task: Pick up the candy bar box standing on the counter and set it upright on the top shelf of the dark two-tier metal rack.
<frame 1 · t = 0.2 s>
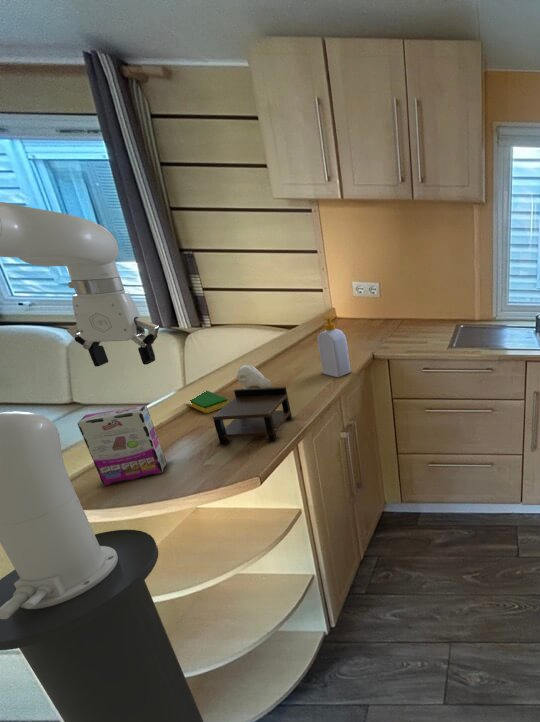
hand: (125, 363, 91), 27 cm above the table, tool pointing down, fingers open, 9 cm apart
soap bottle: (337, 373, 161), on the table
dish sponge: (207, 405, 133), on the table
candy bar box: (136, 475, 97), on the table
rack: (258, 430, 117), on the table
white rounded lump: (258, 389, 146), on the table
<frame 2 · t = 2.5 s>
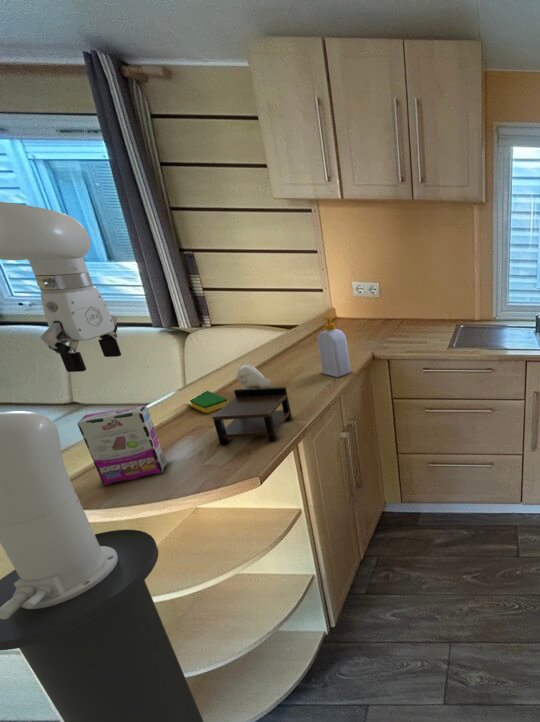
hand: (96, 363, 87), 28 cm above the table, tool pointing down, fingers open, 9 cm apart
nothing on the table moved.
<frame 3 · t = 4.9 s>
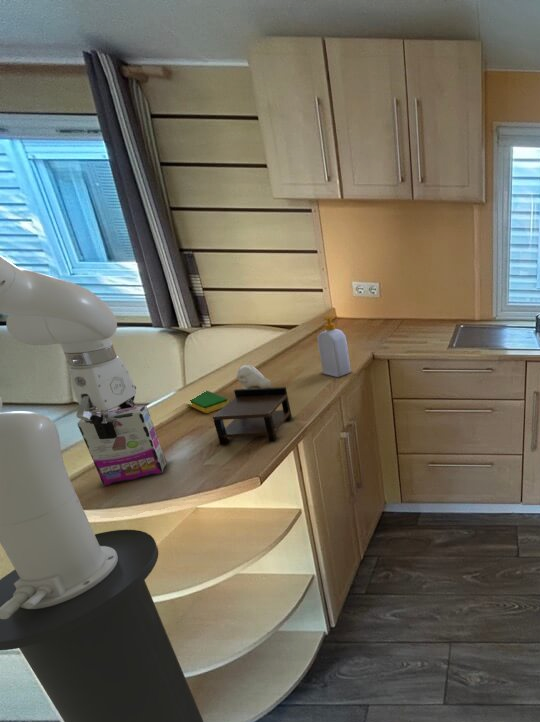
hand: (119, 430, 93), 12 cm above the table, tool pointing down, fingers closed on candy bar box, 6 cm apart
candy bar box: (136, 475, 97), on the table, touching gripper
everything else where it was.
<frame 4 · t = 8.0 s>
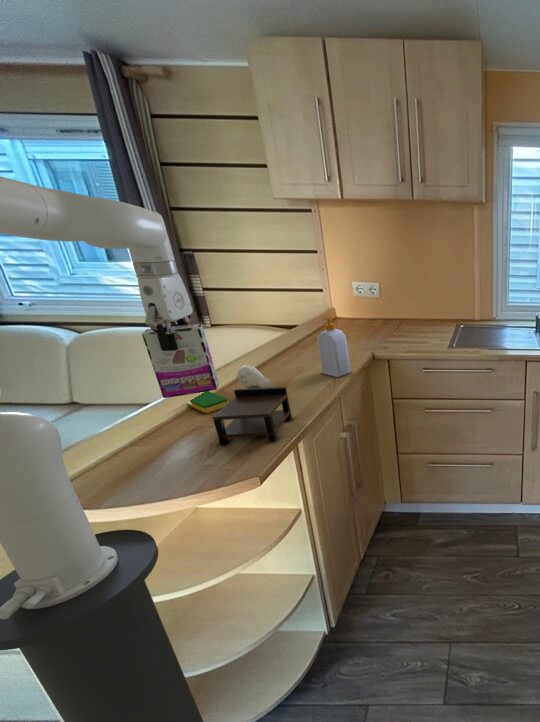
hand: (178, 345, 97), 29 cm above the table, tool pointing down, fingers closed on candy bar box, 6 cm apart
candy bar box: (192, 391, 102), point 17 cm above the table, touching gripper
everything else where it was.
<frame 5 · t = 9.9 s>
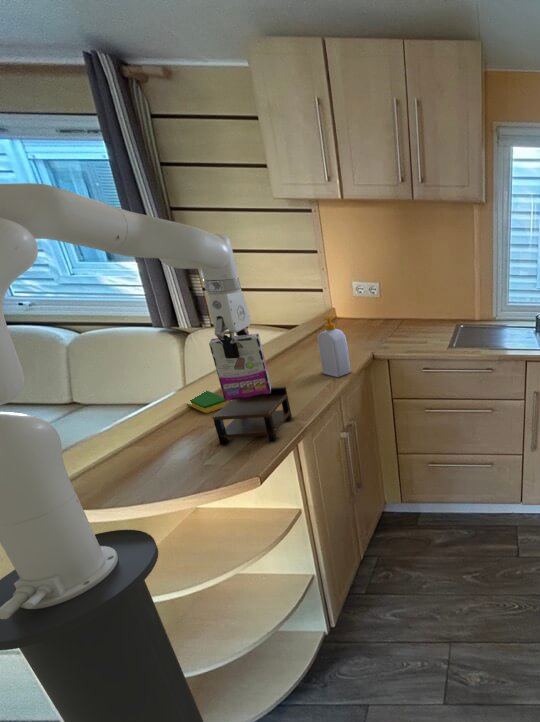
hand: (239, 353, 108), 24 cm above the table, tool pointing down, fingers closed on candy bar box, 6 cm apart
candy bar box: (248, 395, 112), point 12 cm above the table, touching gripper
everything else where it was.
when the fingers open (21 cm above the table, at t = 11.3 s): candy bar box stays where it is, resting on rack.
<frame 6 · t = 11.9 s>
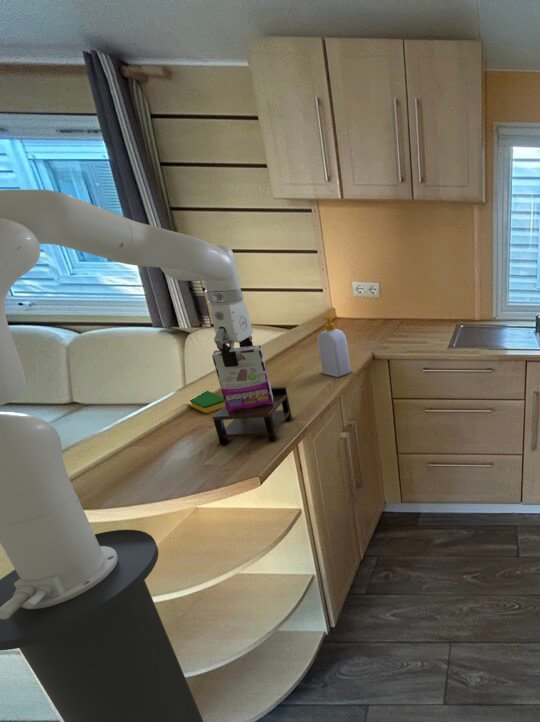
hand: (240, 360, 109), 22 cm above the table, tool pointing down, fingers open, 9 cm apart
candy bar box: (251, 405, 113), point 8 cm above the table, touching rack
everything else where it was.
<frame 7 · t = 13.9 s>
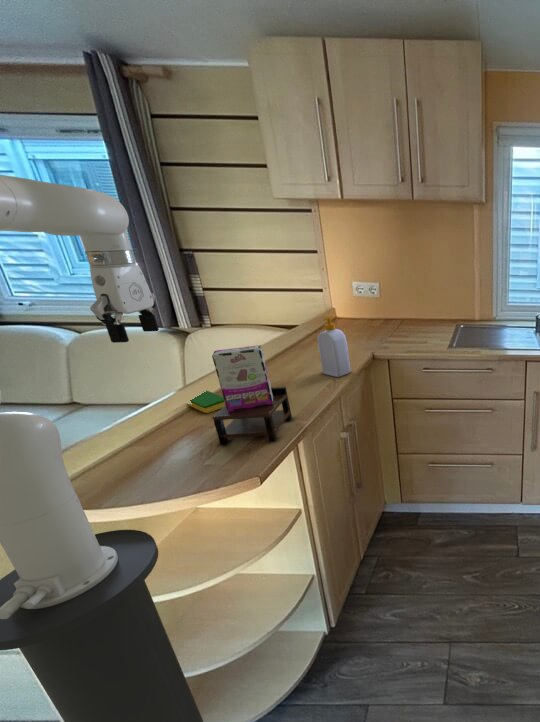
hand: (136, 336, 93), 32 cm above the table, tool pointing down, fingers open, 9 cm apart
nothing on the table moved.
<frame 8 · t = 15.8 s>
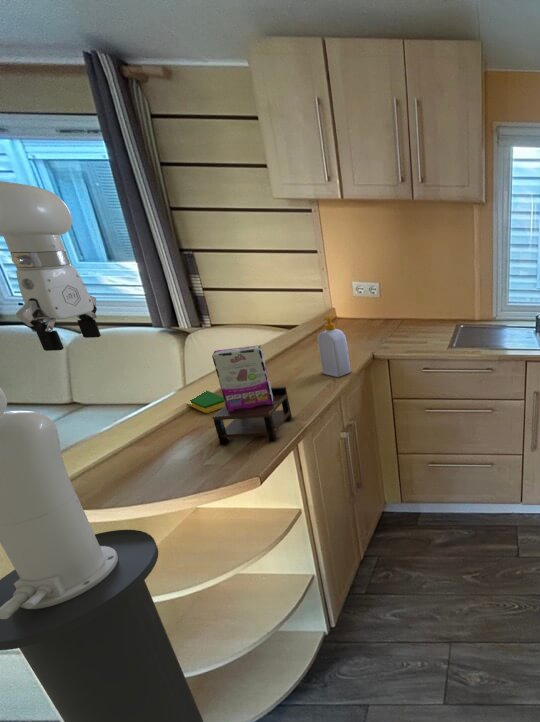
hand: (74, 343, 87), 32 cm above the table, tool pointing down, fingers open, 9 cm apart
nothing on the table moved.
at the end: candy bar box inside the target area on the rack (0.6 cm from its centre), point 8.3 cm above the rack's base; candy bar box tilted 0°; the gripper is holding nothing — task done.
